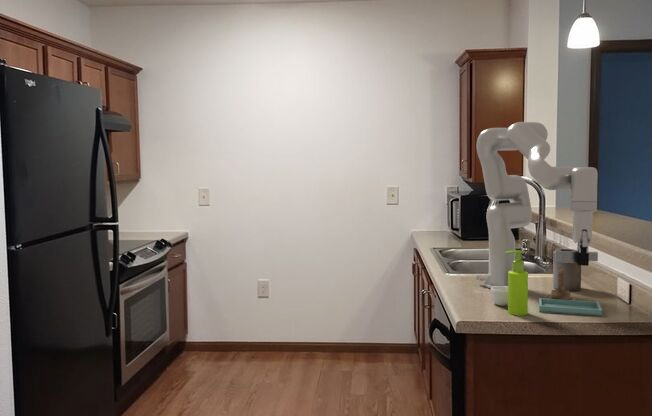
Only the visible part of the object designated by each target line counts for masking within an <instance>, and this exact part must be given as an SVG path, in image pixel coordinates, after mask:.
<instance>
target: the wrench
mask: <svg viewBox="0 0 652 416" xmlns="http://www.w3.org/2000/svg"><path fill="white" fill-rule="evenodd" d="M554 251H555V261H556V262H561V263H575V262H577V257H578V253H579V252H578V251H577V249H574V248H573V249H572V248H556V249H555V250H554ZM588 253H589V262H599V254H598V252H597V251H588Z"/></svg>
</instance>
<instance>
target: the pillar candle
mask: <svg viewBox="0 0 652 416" xmlns="http://www.w3.org/2000/svg"><path fill="white" fill-rule="evenodd" d="M552 255H553V256H552V258H553V265H552V268H553V269H552V272H553V273H552V274H553V275H552V284H553V285H552V288H554V290H558V269H564V270H565V279H564V290H567V291H570V292H573V291H574V292H575V291H580V290H582V265H578V264H577V262H575V263H561V262H556V261H555V250H553V253H552Z"/></svg>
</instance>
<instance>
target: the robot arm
mask: <svg viewBox="0 0 652 416" xmlns="http://www.w3.org/2000/svg"><path fill="white" fill-rule="evenodd" d="M547 139H548V130H547V128H546V126H545V125H544V124H542V123H541V122H537V121H518V122H515V123H513V124H511V125H510V126H508V127H490V128H487V129H484V130H483V131H481V132H480V134H479V135H478V137H477V139H476V140H477V141H476V154H477V156H478V159H479V162H480V165H481V168H482V176H483V181H484V186H485V192H486V195H487V197H488V198H489V200H492V201H509V202H504V203H496V204H493V205H491V206H490V207H489V208H487V211H486V216H485V217H486V223H487V224H486V225H487V229H488V230H487V231H488V272H487V274H484V275H483V274H476V280H477V281H478V280H479V281H484V283H483V284H484V287H485V288H486V289H487V288H488V289H491V287H493V286H508V272H509V271H513V261H514V260H516V253H511V254H507V253H505V252H507V251H511V250H516V239H515V236H514V234H513V232H512V229H519V228H524V227H527V226H529V225H530V224H531V222H532V219H533V209H532V205H531V199H530V195H529V194H530V193H529V189H528V184H527V183H526V181H525V179H524V178H523V177H522V176H520V175H518V174H508V172H507V170H506V164H505V161H504V159H503V158H502V156H501V155H500V154H499V153H498V151H519V153H521V154H522V155H523V156H524V158H525V159H527V168H528V172H529V174H530V176H531V177H532V179H534V180H535V182H537V184H539V186H541V187H542V188H544V189H546V190H548V191H558V190H559V191H560V190H561V191H562V190H563V191H565V190H570V212H573V217H572V220H573V221H572V223H573V224H572V241H573V242H574V243H575V244H577V249H576V250H577V251H578V252H579V253H578V257H577V264H578V265H581V267H582V266H585V267H588V266H589V263H590V261H589V253H588V252H589V244H591V243H592V239H593V238H592V237H593V220H594V219H593V213H595V212H598V177H599V175H598V170H597V168H595V167H592V166H589V167H588V166H581V167H577V166H571V165H568V166H565V165H564V166H551V165H550V163H548V162H547V161H546V160H545V159H546V158H547V157H548V156H549V154H550V151H551V145H550V143H549V142H547Z"/></svg>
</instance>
